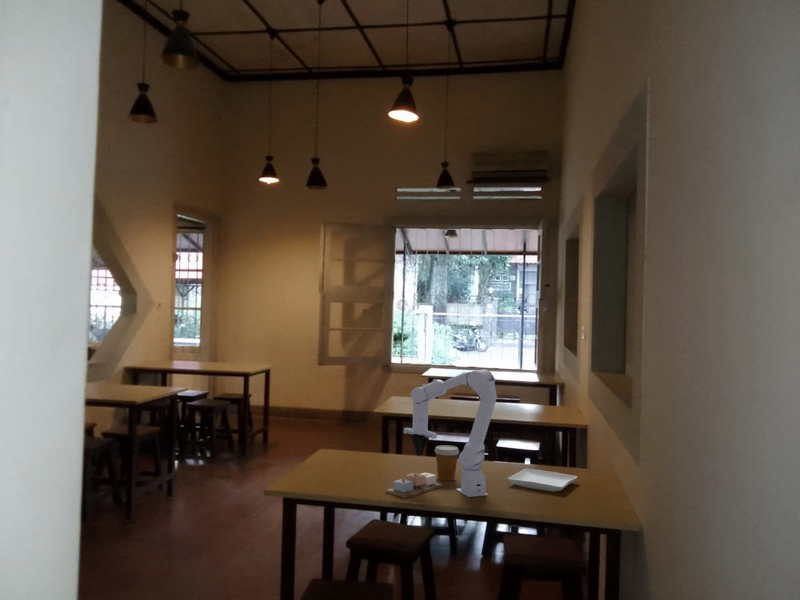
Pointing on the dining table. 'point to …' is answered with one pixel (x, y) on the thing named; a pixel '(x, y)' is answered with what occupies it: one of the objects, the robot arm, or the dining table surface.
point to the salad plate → (542, 480)
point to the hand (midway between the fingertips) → (419, 455)
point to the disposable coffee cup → (446, 461)
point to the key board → (414, 490)
